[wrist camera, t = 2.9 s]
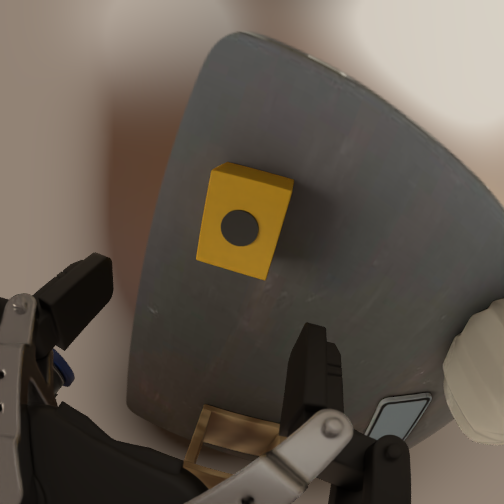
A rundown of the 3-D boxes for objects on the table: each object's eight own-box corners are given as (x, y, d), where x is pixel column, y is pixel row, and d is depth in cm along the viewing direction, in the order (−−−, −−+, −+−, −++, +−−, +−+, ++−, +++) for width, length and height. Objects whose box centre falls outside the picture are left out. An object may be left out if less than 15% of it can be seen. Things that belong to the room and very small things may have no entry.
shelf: (197, 435, 39) (172, 504, 26) (204, 403, 33) (171, 492, 21) (266, 453, 38) (252, 523, 26) (290, 425, 33) (276, 516, 20)
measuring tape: (210, 244, 23) (193, 265, 19) (226, 161, 20) (210, 169, 16) (269, 261, 22) (263, 286, 19) (294, 179, 19) (292, 191, 16)
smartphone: (434, 395, 25) (399, 447, 32) (433, 390, 26) (398, 443, 32) (381, 402, 27) (356, 452, 33) (380, 396, 28) (356, 448, 34)
